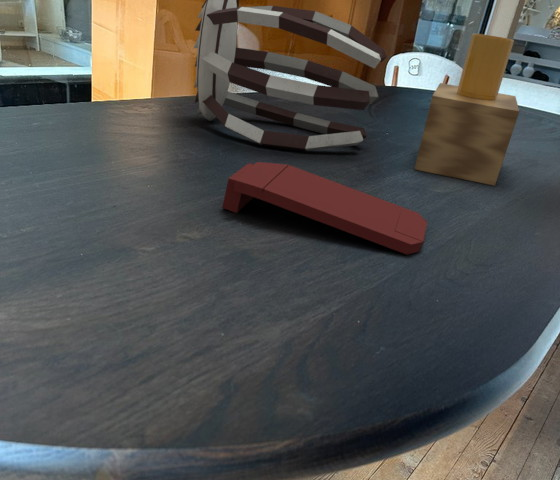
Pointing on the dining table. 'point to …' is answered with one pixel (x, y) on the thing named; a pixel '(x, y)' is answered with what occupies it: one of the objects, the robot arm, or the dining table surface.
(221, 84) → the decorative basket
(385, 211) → the red hooked ramp
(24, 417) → the dining table surface
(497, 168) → the wooden block
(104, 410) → the dining table surface
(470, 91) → the cup
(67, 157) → the dining table surface
